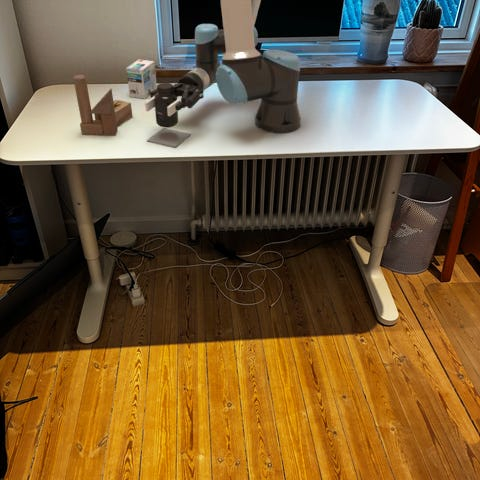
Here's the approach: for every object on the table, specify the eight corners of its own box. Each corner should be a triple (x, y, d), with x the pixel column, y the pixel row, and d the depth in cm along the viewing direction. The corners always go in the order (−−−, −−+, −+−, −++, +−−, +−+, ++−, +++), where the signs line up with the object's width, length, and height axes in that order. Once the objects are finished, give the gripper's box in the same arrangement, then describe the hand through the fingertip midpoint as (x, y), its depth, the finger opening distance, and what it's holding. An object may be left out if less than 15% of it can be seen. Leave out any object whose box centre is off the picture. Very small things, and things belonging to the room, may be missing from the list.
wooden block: (115, 136, 158) (106, 79, 147) (81, 134, 158) (70, 78, 147) (118, 131, 161) (110, 75, 150) (84, 129, 161) (74, 74, 150)
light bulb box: (145, 99, 182) (142, 69, 176) (128, 97, 184) (125, 67, 177) (157, 89, 191) (155, 60, 184) (141, 87, 192) (138, 58, 185)
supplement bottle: (153, 127, 152) (150, 88, 145) (159, 117, 157) (156, 80, 150) (175, 128, 152) (173, 90, 144) (180, 119, 157) (178, 81, 150)
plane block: (132, 116, 170) (129, 93, 165) (111, 130, 161) (108, 106, 156) (117, 113, 171) (114, 91, 167) (96, 127, 163) (92, 103, 158)
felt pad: (191, 134, 159) (191, 133, 159) (175, 148, 152) (175, 146, 151) (163, 129, 162) (163, 127, 162) (147, 141, 155) (147, 140, 155)
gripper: (221, 99, 163) (187, 127, 146) (168, 89, 169) (130, 115, 152) (221, 77, 158) (186, 103, 142) (166, 67, 164) (127, 91, 147)
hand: (157, 109), depth 147 cm, fingers closed on supplement bottle, 7 cm apart
